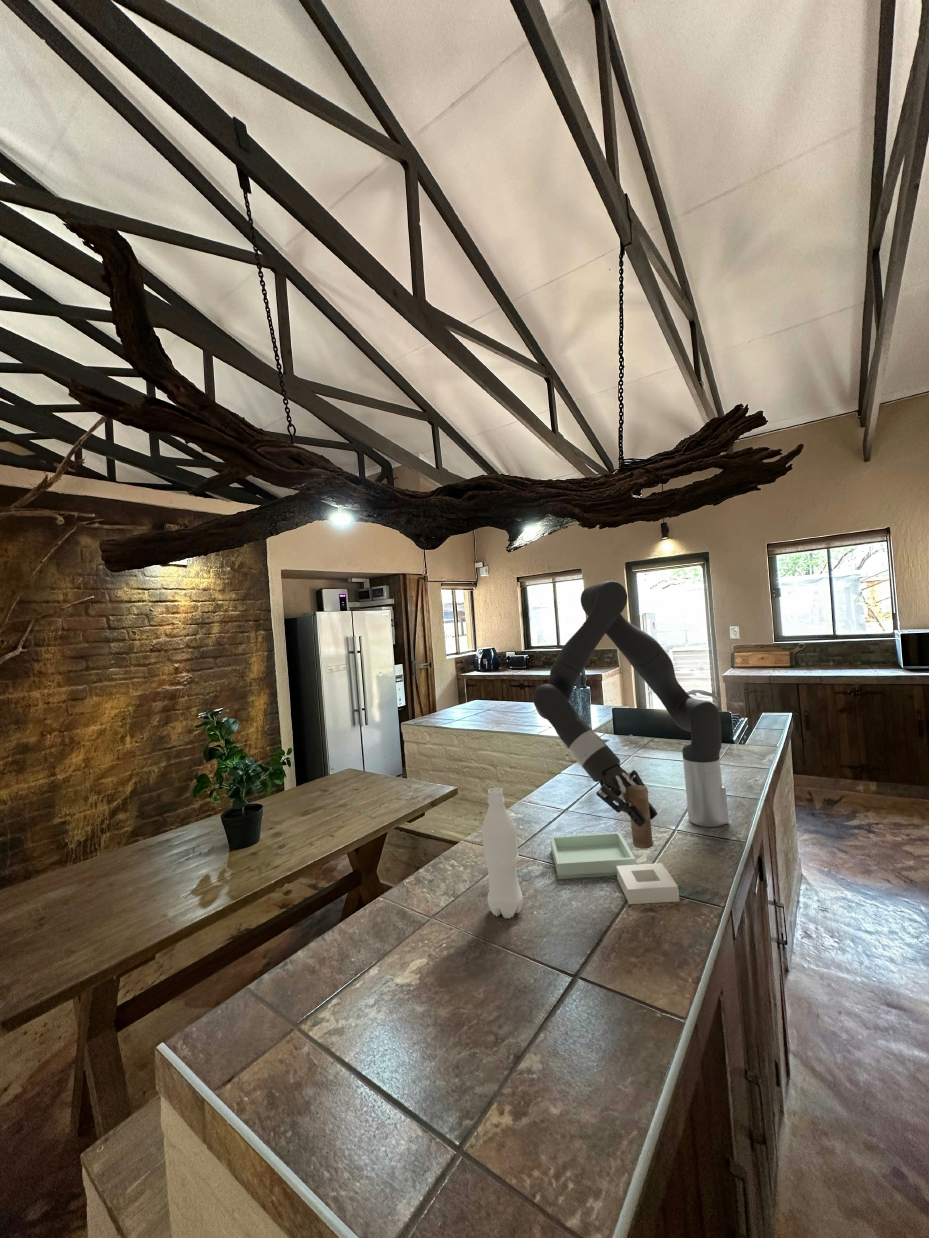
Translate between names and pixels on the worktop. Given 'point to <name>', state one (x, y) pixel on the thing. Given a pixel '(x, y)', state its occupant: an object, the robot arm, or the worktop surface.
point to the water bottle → (501, 857)
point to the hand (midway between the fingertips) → (648, 820)
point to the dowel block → (647, 883)
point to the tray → (590, 855)
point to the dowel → (640, 801)
